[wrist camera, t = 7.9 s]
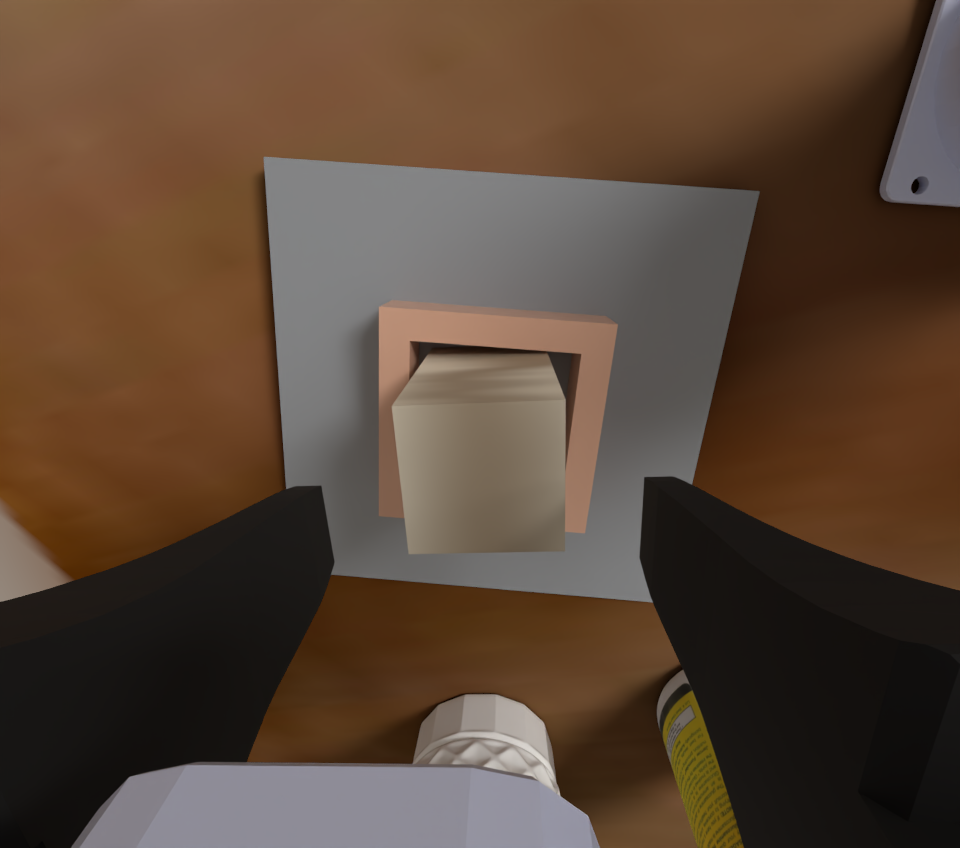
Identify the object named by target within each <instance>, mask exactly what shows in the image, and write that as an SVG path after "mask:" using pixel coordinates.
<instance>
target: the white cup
mask: <svg viewBox="0 0 960 848" xmlns="http://www.w3.org/2000/svg"><path fill="white" fill-rule="evenodd" d="M412 764H473V765H478V766H483V767H488V768H493V769H498V770H503V771H508V772H513V773H518V774H523V775H528V776H532V777H534V778H535V779H537V780H538V781H539V782H541V783H542V784H544V785H545V786H547V787H548V788H549V789H551V790H552V791H554V792H555V793H556V794H558V795H559V796H560V791H559V787H558V785H557V783H556V775H555V767H554V759H553V752H552V746H551V742H550V739H549V736H548V733H547V730H546V727H545V724H544V722H543V721H542V720H541V719H540V718H538V717H537V716H536V715H535V714H534V713H533V712H532V711H531V710H530V709H529V708H527V707H526V706H525V705H524V704H522V703H519V702H516V701H514V700H511V699H508V698H505V697H502V696H500V695H497V694H465V695H462V696H459V697H457V698H454V699H452V700H449V701H446V702H444V703H441V704H439V705H438V706H437V707H436V708H435V709H434V710H433V711H432V712H431V713H430V715H429V716H428V717H427V718H426V719H425V720H424V721H423V722H422V724H421V727H420V731H419V736H418V741H417V745H416V750H415V755H414V759H413V763H412Z"/></svg>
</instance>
